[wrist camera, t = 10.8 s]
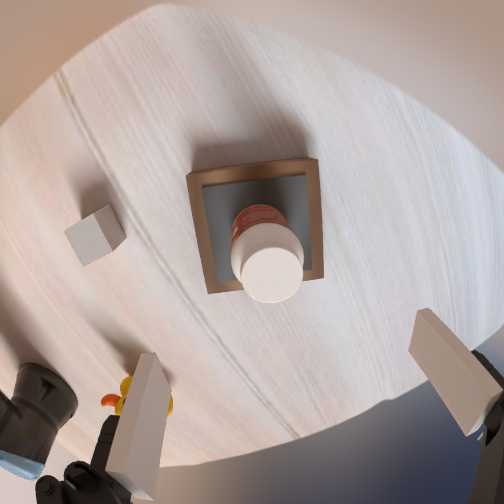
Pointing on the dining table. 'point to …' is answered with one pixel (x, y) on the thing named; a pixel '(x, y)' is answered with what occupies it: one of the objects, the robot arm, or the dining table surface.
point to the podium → (248, 194)
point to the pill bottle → (266, 254)
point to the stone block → (95, 235)
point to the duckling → (119, 401)
